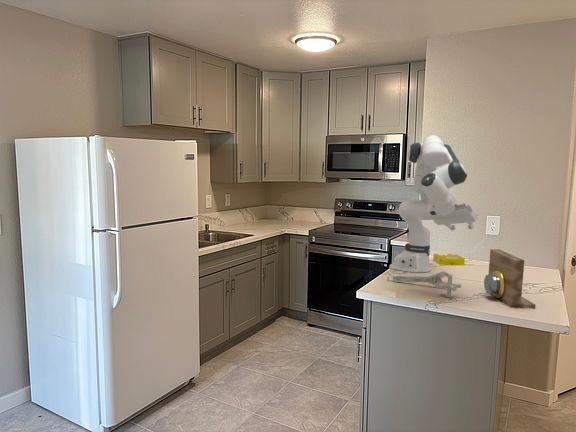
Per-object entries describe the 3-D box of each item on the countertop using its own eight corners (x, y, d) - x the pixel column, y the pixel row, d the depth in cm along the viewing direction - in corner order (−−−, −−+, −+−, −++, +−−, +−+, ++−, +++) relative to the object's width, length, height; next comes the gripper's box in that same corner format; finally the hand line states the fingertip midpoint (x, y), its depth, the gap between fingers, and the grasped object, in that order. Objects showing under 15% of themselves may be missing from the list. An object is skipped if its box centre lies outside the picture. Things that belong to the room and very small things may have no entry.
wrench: (388, 286, 222) (451, 288, 208) (387, 287, 220) (450, 289, 206) (387, 270, 221) (450, 271, 207) (386, 271, 220) (449, 272, 205)
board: (510, 307, 182) (514, 260, 180) (487, 291, 206) (490, 249, 204) (535, 308, 182) (539, 260, 180) (508, 291, 206) (512, 249, 203)
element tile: (440, 265, 261) (440, 257, 260) (432, 260, 276) (432, 252, 275) (465, 266, 261) (466, 258, 260) (456, 260, 276) (456, 253, 275)
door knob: (492, 301, 188) (494, 274, 187) (481, 293, 200) (483, 267, 199) (504, 301, 188) (506, 274, 187) (492, 293, 200) (494, 267, 199)
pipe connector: (433, 293, 200) (434, 272, 198) (454, 293, 200) (455, 272, 199) (442, 300, 190) (444, 277, 189) (464, 300, 191) (466, 277, 189)
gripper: (470, 198, 182) (486, 221, 187) (431, 203, 200) (446, 225, 204) (464, 208, 180) (481, 232, 184) (425, 213, 197) (440, 234, 201)
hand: (462, 228), depth 194 cm, fingers open, 8 cm apart
